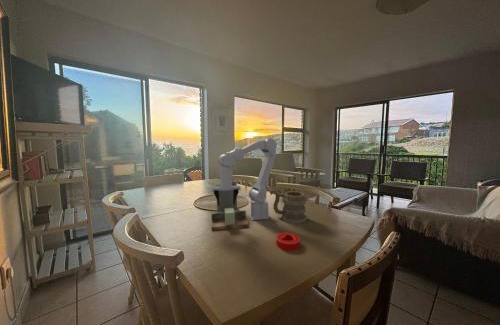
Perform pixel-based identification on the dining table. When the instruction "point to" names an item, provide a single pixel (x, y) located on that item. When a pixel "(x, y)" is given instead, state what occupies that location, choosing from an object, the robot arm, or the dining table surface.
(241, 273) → the dining table surface
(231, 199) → the hip flask
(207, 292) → the dining table surface
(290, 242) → the decorative ornament
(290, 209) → the tankard
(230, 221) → the mini cabinet
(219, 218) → the cleat wall
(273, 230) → the dining table surface
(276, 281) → the dining table surface
